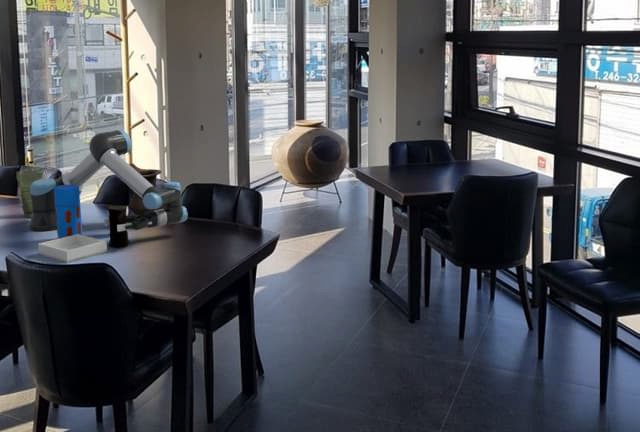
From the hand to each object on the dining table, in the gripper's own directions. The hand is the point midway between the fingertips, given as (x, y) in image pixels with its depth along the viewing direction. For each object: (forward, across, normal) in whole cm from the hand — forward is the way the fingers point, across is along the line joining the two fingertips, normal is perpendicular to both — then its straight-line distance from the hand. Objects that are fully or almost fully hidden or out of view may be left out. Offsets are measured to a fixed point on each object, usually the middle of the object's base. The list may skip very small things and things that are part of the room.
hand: (111, 225), depth 328 cm
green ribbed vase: (+7, +82, -10) cm, 83 cm away
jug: (-31, +30, -10) cm, 45 cm away
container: (-3, 0, -10) cm, 11 cm away
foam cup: (-12, +19, -10) cm, 24 cm away
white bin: (+18, +1, -10) cm, 20 cm away
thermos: (+10, +23, -10) cm, 27 cm away
